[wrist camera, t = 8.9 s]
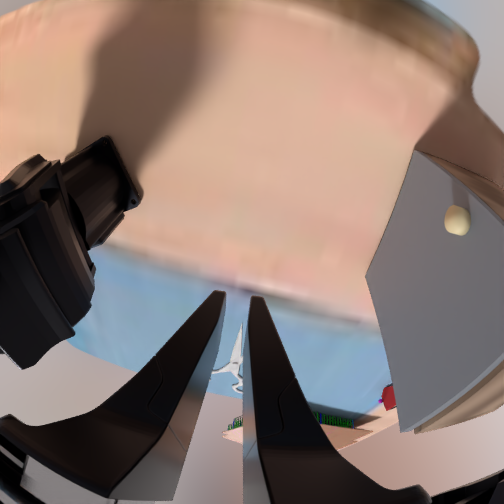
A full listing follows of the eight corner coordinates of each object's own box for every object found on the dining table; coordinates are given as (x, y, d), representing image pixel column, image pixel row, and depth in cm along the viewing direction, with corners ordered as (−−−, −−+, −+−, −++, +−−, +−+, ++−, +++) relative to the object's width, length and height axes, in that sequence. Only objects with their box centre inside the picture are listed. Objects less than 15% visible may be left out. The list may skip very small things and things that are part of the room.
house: (272, 396, 41) (269, 440, 35) (382, 420, 50) (385, 450, 44) (213, 421, 54) (208, 452, 47) (317, 443, 63) (316, 467, 56)
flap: (357, 275, 23) (389, 434, 12) (405, 146, 16) (546, 288, 4) (372, 277, 23) (410, 430, 12) (422, 152, 16) (559, 291, 4)
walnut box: (374, 275, 23) (414, 434, 11) (422, 151, 16) (564, 296, 4) (444, 284, 23) (494, 410, 11) (494, 182, 16) (598, 300, 4)
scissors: (186, 383, 40) (212, 315, 28) (187, 379, 40) (213, 309, 29) (248, 398, 41) (304, 340, 29) (248, 394, 42) (304, 334, 30)
